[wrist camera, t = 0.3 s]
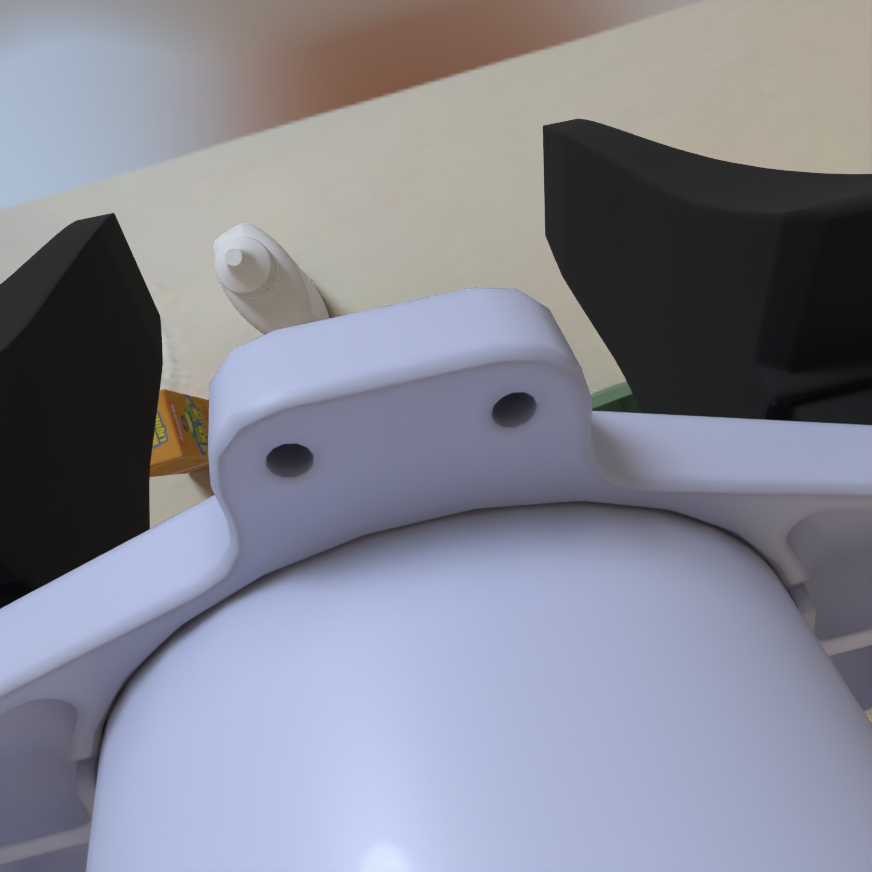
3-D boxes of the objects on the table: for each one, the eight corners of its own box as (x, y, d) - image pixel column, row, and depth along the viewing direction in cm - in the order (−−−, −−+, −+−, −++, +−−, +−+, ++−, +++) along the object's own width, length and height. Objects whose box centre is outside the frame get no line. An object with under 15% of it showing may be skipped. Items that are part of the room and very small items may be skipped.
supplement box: (244, 455, 43) (184, 461, 33) (185, 474, 43) (107, 486, 33) (226, 398, 43) (161, 387, 33) (166, 417, 43) (84, 411, 33)
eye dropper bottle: (326, 252, 43) (282, 182, 31) (335, 354, 43) (294, 322, 31) (247, 259, 43) (173, 191, 31) (256, 360, 43) (185, 332, 31)
